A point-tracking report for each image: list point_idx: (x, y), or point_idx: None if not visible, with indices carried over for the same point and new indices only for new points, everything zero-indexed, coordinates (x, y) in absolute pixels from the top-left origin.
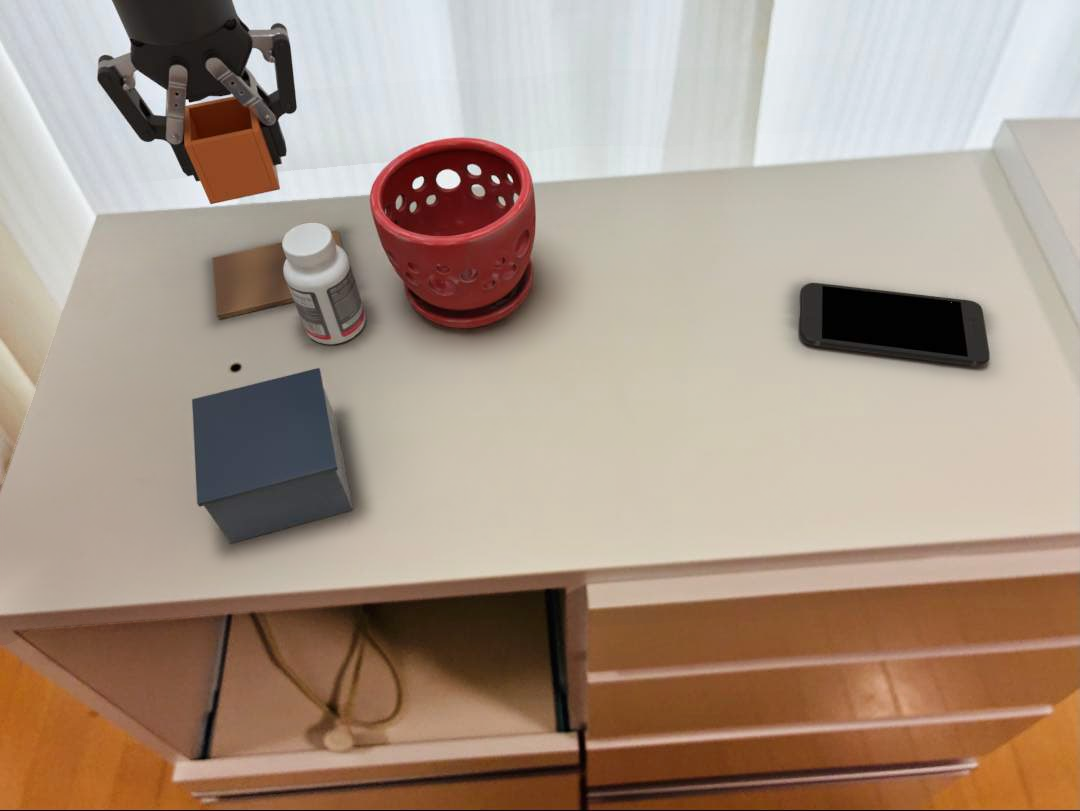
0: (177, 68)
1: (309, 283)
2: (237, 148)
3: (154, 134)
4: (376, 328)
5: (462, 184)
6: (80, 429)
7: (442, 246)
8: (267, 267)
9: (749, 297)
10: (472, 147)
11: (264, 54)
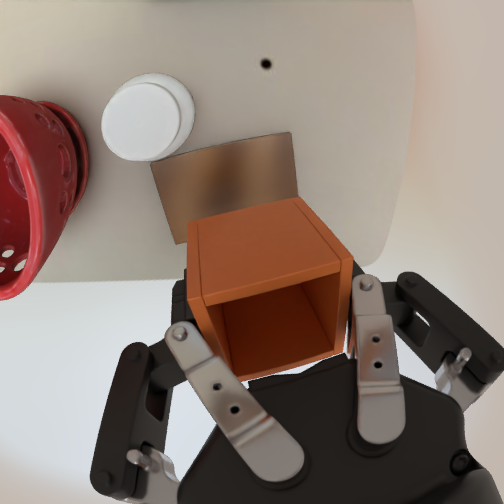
0: (384, 432)
1: (150, 75)
2: (243, 264)
3: (400, 283)
4: None
5: (14, 258)
6: (387, 41)
7: None
8: (243, 195)
9: None
10: None
11: (158, 465)
